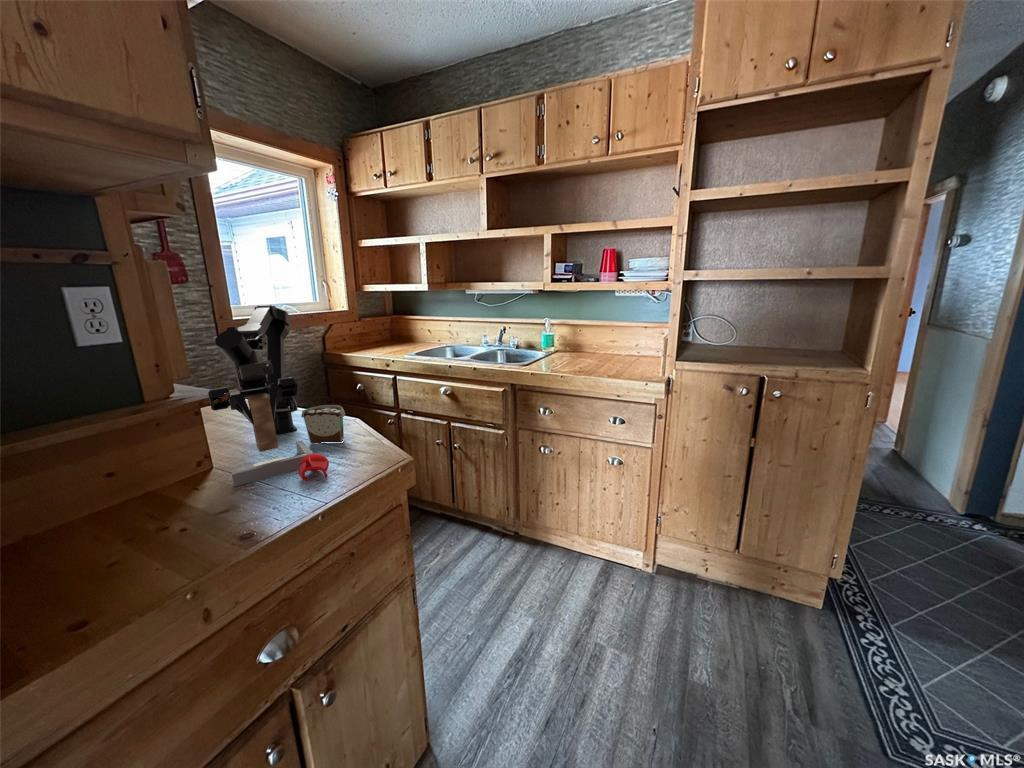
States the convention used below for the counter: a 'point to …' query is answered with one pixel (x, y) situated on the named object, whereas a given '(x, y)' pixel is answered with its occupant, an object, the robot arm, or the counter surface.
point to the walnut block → (263, 422)
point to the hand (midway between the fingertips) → (263, 421)
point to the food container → (324, 423)
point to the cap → (313, 465)
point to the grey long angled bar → (271, 467)
